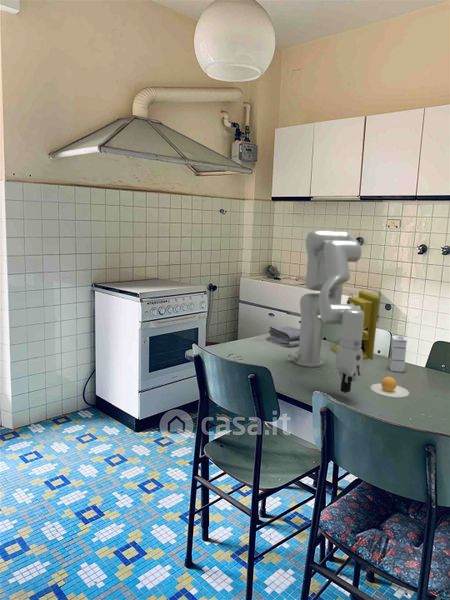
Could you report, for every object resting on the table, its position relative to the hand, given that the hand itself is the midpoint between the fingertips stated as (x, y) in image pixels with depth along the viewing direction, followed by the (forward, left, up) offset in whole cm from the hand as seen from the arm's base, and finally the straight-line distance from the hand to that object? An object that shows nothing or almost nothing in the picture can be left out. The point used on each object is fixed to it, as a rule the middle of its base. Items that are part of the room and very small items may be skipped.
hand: (345, 391), depth 165 cm
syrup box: (+28, +37, -2) cm, 46 cm away
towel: (-19, +71, -3) cm, 73 cm away
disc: (+18, +10, -2) cm, 21 cm away
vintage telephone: (+11, +58, -2) cm, 59 cm away
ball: (+18, +9, +1) cm, 20 cm away
